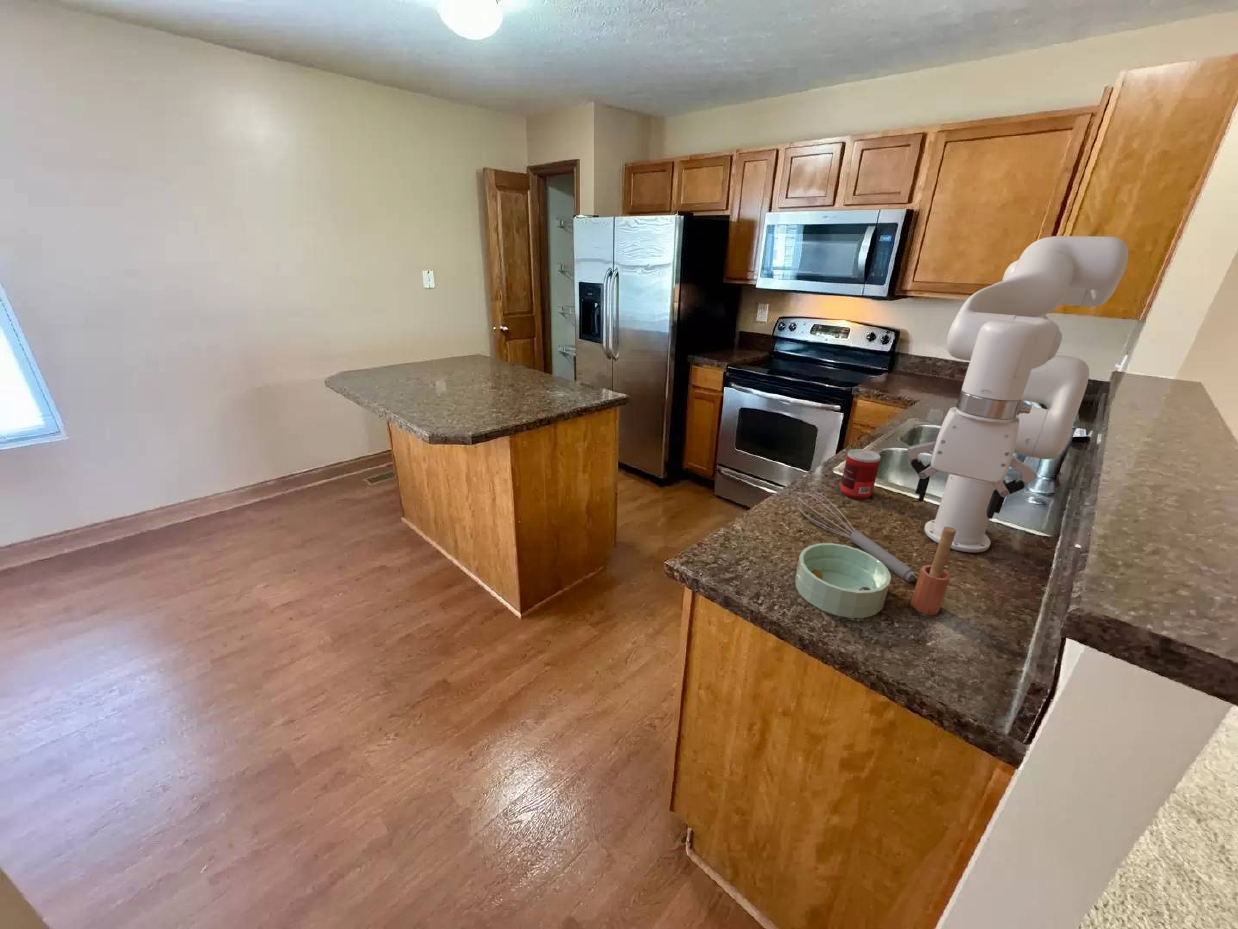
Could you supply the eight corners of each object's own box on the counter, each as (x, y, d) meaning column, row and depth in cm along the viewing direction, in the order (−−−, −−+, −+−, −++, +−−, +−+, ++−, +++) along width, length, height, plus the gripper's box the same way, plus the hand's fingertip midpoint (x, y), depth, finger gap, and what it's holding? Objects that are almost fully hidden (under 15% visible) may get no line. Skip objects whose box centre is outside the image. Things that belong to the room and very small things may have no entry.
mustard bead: (810, 575, 100) (812, 565, 99) (823, 579, 98) (825, 569, 97) (807, 581, 98) (809, 571, 97) (820, 586, 97) (822, 575, 96)
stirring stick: (919, 601, 93) (944, 525, 86) (930, 605, 92) (956, 528, 86) (918, 607, 92) (943, 530, 85) (930, 611, 91) (956, 533, 84)
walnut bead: (858, 593, 95) (861, 582, 94) (872, 597, 94) (875, 587, 93) (855, 600, 93) (858, 589, 92) (870, 604, 92) (873, 594, 91)
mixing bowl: (806, 559, 106) (811, 534, 103) (888, 586, 98) (895, 559, 96) (784, 599, 94) (789, 572, 91) (875, 633, 86) (884, 604, 84)
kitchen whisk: (909, 594, 96) (917, 565, 93) (789, 512, 124) (793, 489, 122) (932, 586, 98) (941, 559, 96) (809, 508, 127) (813, 485, 124)
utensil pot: (911, 598, 95) (922, 561, 92) (938, 607, 93) (951, 570, 89) (908, 611, 91) (920, 574, 88) (937, 620, 89) (950, 583, 86)
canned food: (875, 492, 135) (885, 454, 130) (864, 502, 130) (874, 462, 125) (846, 483, 140) (855, 446, 135) (834, 492, 134) (843, 454, 130)
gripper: (1056, 410, 76) (1017, 512, 82) (923, 391, 84) (898, 485, 91) (1062, 423, 70) (1020, 532, 77) (919, 401, 78) (893, 500, 85)
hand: (954, 506), depth 84 cm, fingers open, 9 cm apart
